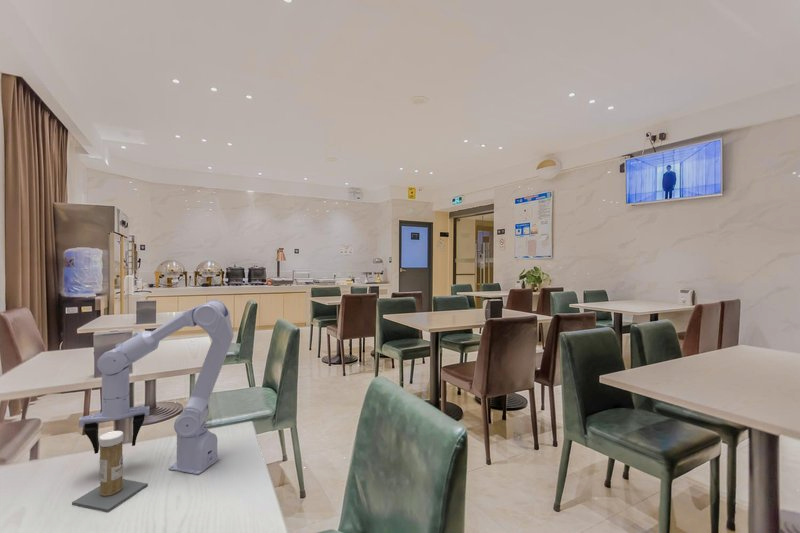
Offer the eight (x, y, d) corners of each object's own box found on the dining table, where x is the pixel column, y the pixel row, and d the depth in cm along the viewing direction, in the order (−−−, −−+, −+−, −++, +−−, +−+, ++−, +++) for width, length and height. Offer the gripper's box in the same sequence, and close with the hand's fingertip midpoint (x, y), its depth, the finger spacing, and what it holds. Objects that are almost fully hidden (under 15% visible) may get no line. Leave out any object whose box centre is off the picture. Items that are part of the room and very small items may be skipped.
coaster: (147, 485, 94) (147, 483, 94) (108, 512, 84) (108, 509, 84) (114, 479, 96) (114, 477, 96) (72, 504, 86) (72, 502, 86)
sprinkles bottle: (123, 492, 90) (123, 435, 90) (98, 499, 87) (98, 440, 87) (123, 483, 94) (123, 428, 93) (99, 489, 91) (99, 433, 91)
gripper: (149, 386, 106) (149, 435, 107) (81, 395, 99) (81, 448, 99) (149, 394, 100) (149, 445, 101) (77, 405, 93) (77, 460, 93)
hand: (115, 447), depth 99 cm, fingers open, 7 cm apart
